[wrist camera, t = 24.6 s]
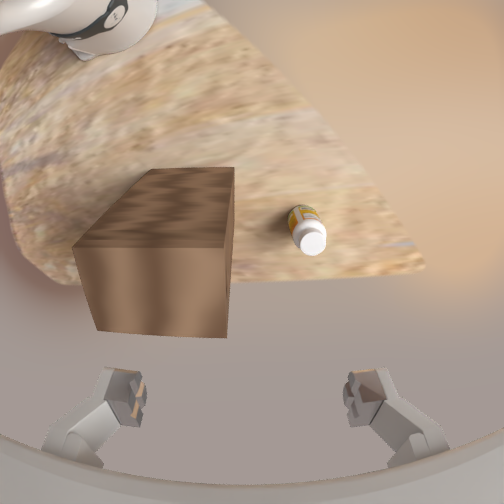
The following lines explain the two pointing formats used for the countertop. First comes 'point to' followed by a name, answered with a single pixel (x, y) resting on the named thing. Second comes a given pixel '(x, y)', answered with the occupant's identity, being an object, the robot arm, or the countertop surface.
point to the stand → (163, 256)
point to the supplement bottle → (307, 230)
